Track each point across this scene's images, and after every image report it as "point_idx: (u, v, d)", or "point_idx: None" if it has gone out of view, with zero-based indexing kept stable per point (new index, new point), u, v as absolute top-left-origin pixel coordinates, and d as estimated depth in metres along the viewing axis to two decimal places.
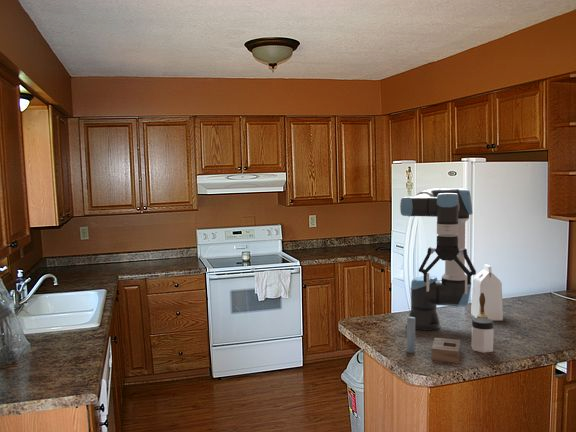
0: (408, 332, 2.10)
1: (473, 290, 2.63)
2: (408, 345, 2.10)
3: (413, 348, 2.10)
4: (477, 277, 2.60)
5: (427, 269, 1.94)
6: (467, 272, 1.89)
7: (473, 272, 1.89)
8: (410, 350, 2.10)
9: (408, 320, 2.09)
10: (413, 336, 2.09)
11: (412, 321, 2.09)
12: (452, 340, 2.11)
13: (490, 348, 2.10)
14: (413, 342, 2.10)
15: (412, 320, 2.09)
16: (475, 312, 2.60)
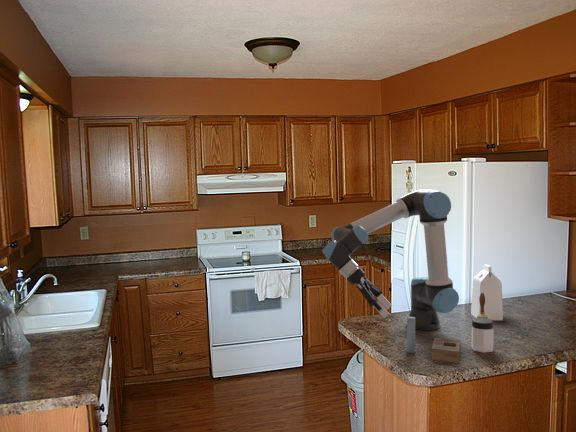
0: (408, 332, 2.10)
1: (473, 290, 2.63)
2: (408, 345, 2.10)
3: (413, 348, 2.10)
4: (477, 277, 2.60)
5: None
6: None
7: None
8: (410, 350, 2.10)
9: (408, 320, 2.09)
10: (413, 336, 2.09)
11: (412, 321, 2.09)
12: (452, 340, 2.11)
13: (490, 348, 2.10)
14: (413, 342, 2.10)
15: (412, 320, 2.09)
16: (475, 312, 2.60)
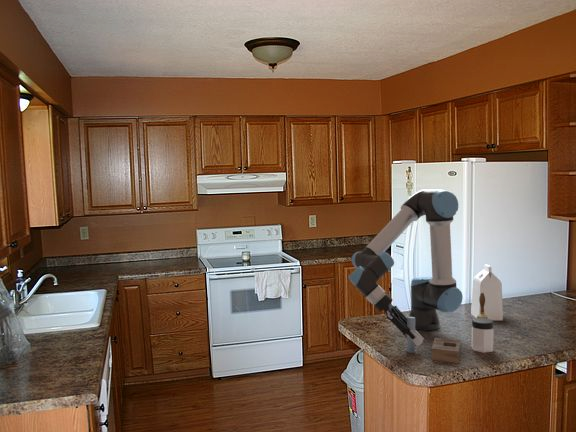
0: None
1: (473, 290, 2.63)
2: (408, 345, 2.10)
3: (413, 348, 2.10)
4: (477, 277, 2.60)
5: None
6: None
7: None
8: (410, 350, 2.10)
9: (408, 320, 2.09)
10: None
11: (412, 321, 2.09)
12: (452, 340, 2.11)
13: (490, 348, 2.10)
14: (413, 342, 2.10)
15: (412, 320, 2.09)
16: (475, 312, 2.60)
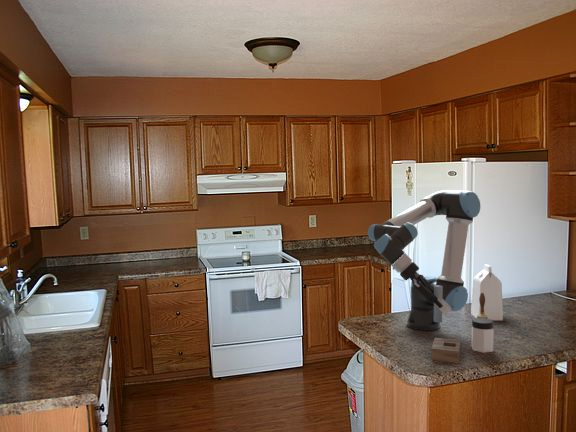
0: None
1: (473, 290, 2.63)
2: (435, 314, 2.05)
3: (440, 317, 2.04)
4: (477, 277, 2.60)
5: None
6: None
7: None
8: (437, 319, 2.04)
9: (435, 289, 2.04)
10: None
11: (439, 289, 2.03)
12: (452, 340, 2.11)
13: (490, 348, 2.10)
14: (440, 311, 2.04)
15: (439, 288, 2.03)
16: (475, 312, 2.60)
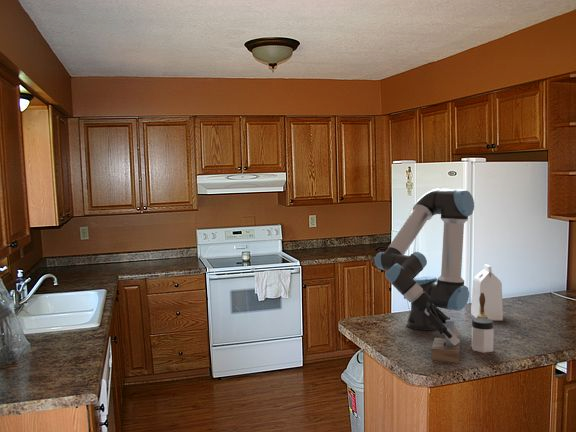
0: None
1: (473, 290, 2.63)
2: None
3: None
4: (477, 277, 2.60)
5: None
6: None
7: None
8: None
9: (447, 323, 2.04)
10: None
11: (451, 324, 2.04)
12: None
13: (490, 348, 2.10)
14: (452, 346, 2.04)
15: (451, 323, 2.04)
16: (475, 312, 2.60)
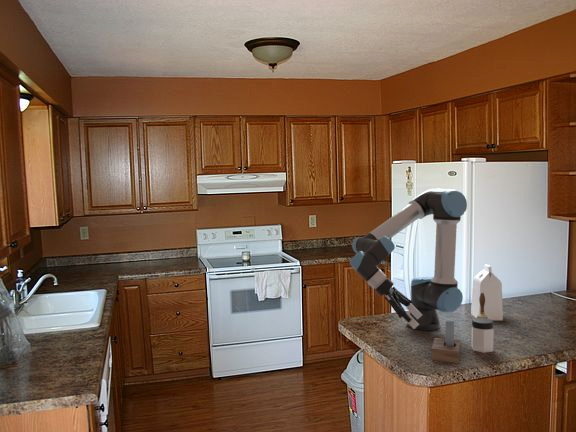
0: (447, 336, 2.05)
1: (473, 290, 2.63)
2: None
3: None
4: (477, 277, 2.60)
5: None
6: None
7: None
8: None
9: (447, 323, 2.04)
10: (452, 340, 2.04)
11: (451, 324, 2.04)
12: None
13: (490, 348, 2.10)
14: (452, 346, 2.04)
15: (451, 323, 2.03)
16: (475, 312, 2.60)
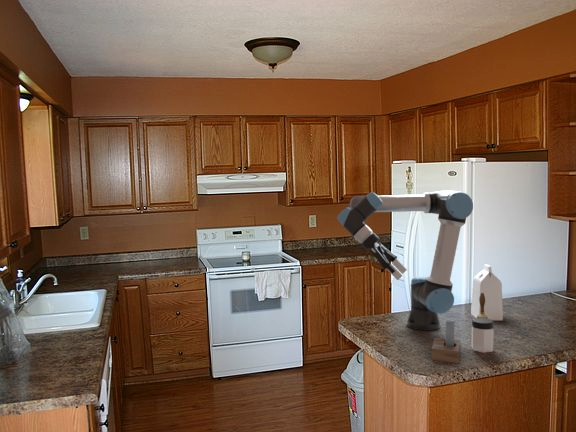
0: (447, 336, 2.05)
1: (473, 290, 2.63)
2: None
3: None
4: (477, 277, 2.60)
5: None
6: None
7: None
8: None
9: (447, 323, 2.04)
10: (452, 340, 2.04)
11: (451, 324, 2.03)
12: None
13: (490, 348, 2.10)
14: (452, 346, 2.04)
15: (451, 323, 2.03)
16: (475, 312, 2.60)
